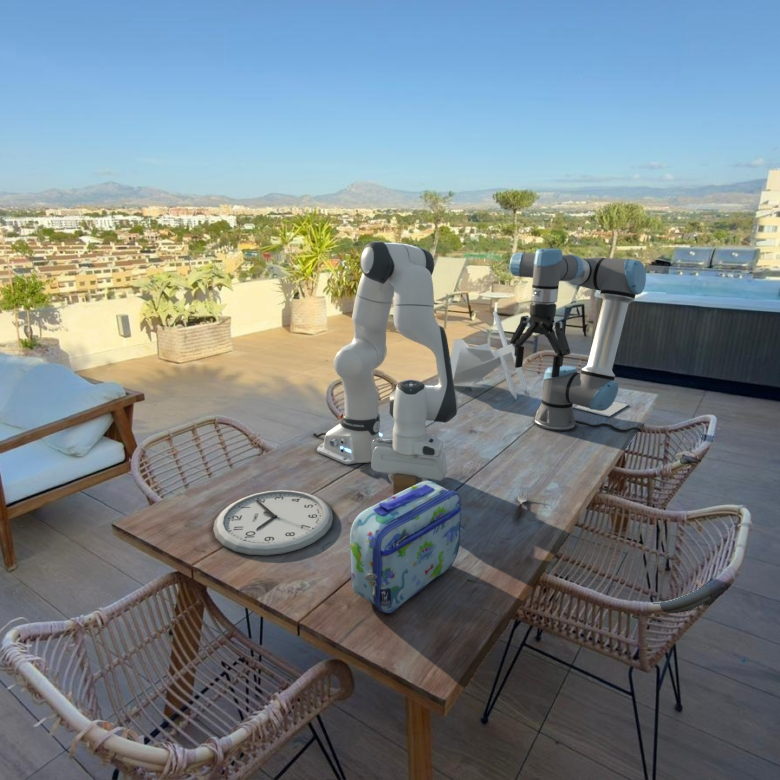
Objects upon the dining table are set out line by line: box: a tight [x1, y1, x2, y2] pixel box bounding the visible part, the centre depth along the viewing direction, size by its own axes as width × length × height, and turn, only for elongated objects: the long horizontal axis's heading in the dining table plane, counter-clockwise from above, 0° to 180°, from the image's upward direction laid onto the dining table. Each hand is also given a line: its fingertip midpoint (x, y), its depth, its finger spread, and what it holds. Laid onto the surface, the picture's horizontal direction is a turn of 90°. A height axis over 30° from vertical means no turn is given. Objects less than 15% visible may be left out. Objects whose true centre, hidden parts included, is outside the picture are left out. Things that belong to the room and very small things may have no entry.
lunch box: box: [349, 480, 462, 614], centre depth 109 cm, size 26×11×21 cm, turn 134°
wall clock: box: [212, 489, 334, 556], centre depth 134 cm, size 30×2×30 cm
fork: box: [516, 487, 529, 521], centre depth 143 cm, size 3×16×2 cm, turn 160°
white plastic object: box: [450, 310, 531, 400], centre depth 245 cm, size 37×45×31 cm
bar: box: [392, 473, 423, 496], centre depth 150 cm, size 28×6×8 cm, turn 164°
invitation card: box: [573, 401, 629, 418], centre depth 226 cm, size 21×1×15 cm
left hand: (407, 489), depth 142 cm, fingers closed on bar, 6 cm apart
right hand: (536, 371), depth 161 cm, fingers open, 13 cm apart
